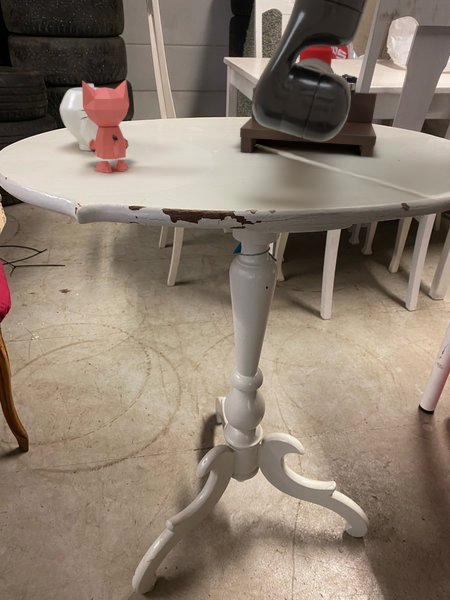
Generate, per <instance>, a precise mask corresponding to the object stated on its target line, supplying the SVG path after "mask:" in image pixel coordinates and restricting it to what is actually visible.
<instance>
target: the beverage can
mask: <svg viewBox="0 0 450 600" xmlns="http://www.w3.org/2000/svg"><path fill="white" fill-rule="evenodd" d="M333 53H334V52H333V47H330V46H314V47H310V48H307V49H305V50H304V51H303V52H302V53H301V54H300V55H299V57H298V58H299V59H298V62H299V61H301V60H303V59H307V58H318V59H321V60H323V61H325V62H326V63H328V64H329V65H330V67H331V68H332V61H333Z"/></svg>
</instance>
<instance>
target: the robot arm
mask: <svg viewBox="0 0 450 600" xmlns="http://www.w3.org/2000/svg"><path fill="white" fill-rule="evenodd" d="M368 2H369V0H294V3H293V7H292V10H291V14H290V16H289V19H288V21H287V24H286V27H285V29H284V31H283V34H282V35H281V37H280V39H279V42H278V44H277V46H276V48H275V50H274V51H273V54H272V55H271V57H270V59H269V61H268V62H267V64H266V65H265V66H264V67H265V68H263V71H262V72H261V74H260V76H259V78H258V81H257V83H256V85H255V87H254V88H255V89H254V92H253V91H252V98H251V110H252V109H253V114H254V116H255V119H256V120H257V122H258V123H259V124H260V125H262V126H264V127H267V128H270V129H273V130H277V131H281V132H284V133H288V134H291V135H294V136H298V137H302V136H303V138H304V139H308V140H311V141H317V142H316V143H322V141H327V140H329V139H331V138H333V137H334V136H335V135H336V134H337V133H338V132H339V131H340V130H341V129H342V127H343V125H344V124H345V121H346V119H347V117H348V114H349V110H350V104H351V96H353V95H355V92H357V84H358V77H357V76H355V75H349V74H347V73H344V74H342V75H339V74H337V73H335V71H334V70H333V68H332V66H331V67H330V65H329V64H328V63H326V62H325V61H323V60H321V59H318V58H307V59H303V60H301V61H299V60H298V58H299V57H300V54H301V53H302V52H303V51H304V50H305V49H307V48H310V47H314V46H330V47H332V48H336V47H337V48H340V47H347V46H349V45H350V44H352V43H353V41H354V40H355V39H356V36H357V34H358V32H359V29H360V26H361V23H362V21H363V20H362V19H363V17H364V15H363V14H365V11H366V8H367V5H368ZM297 60H298V62H297Z"/></svg>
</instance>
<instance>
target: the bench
mask: <svg viewBox="0 0 450 600" xmlns="http://www.w3.org/2000/svg"><path fill="white" fill-rule="evenodd" d="M254 89H255V87H253V88H252V93H253V92H254ZM377 95H378V92H362V91H356V92H355V95H353V96H351V104H350V110H349V114H348V117H347V119H346V121H345V124H344V125H343V127H342V129H341V130H340V131H339V132H338V133H337V134H336V135H335V136H334V137H333V138H331V139H329V140H327V141H322V142H321V143H322V144H323V143H325V144H336V145H337V144H340V145H352V146H353V145H355V146H358V148H359V154H360V156H361V157H371V158H372V157H373V155H374V148H375V146H376V142H377V133H376V131H375V129H374V126H373V120H374V113H375V108H376V101H377ZM239 137H240V153H249V154H251V153H252V152H253V151H254V149H255V148H256V146H257V145H258V143H257V142H258V140H259V139H260V140H275V141H291V142H307V143H318V142H317V141H311V140H308V139H304V138H303V136H302V137H298V136H294V135H291V134H288V133H284V132H281V131H277V130H273V129H270V128H267V127H264V126H262V125H260V124H259V123H258V122H257V120H256V119H255V116H254V114H253V109H252V108H251V117H250V118H249V119H248V120H247V121H246V122H245V123H244V124H243V125H242V126H241V127H240V128H239Z"/></svg>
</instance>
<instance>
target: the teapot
mask: <svg viewBox="0 0 450 600" xmlns="http://www.w3.org/2000/svg"><path fill="white" fill-rule="evenodd" d="M87 84H88V85H89V86H90V87H92V88H93V89H94V90H96V89H98V88H99V87H96V86H95V84H94V83H87ZM81 110H84V109H83V93H82V86H80V87H72V88H69V89H68V90H67V91H66V92H65V93H64V95H63V98H62V100H61V103H60V104H59V114H60V118H61V121H62V124H63V125H64V126H65V128H66V129H67V131H68V132H69V133H70V134H71V135H72V137H74V138H75V139H76V141H77V142H78V147H79V149H80V150H81V151H86V152H93V151H92V150H90V149H89V142H90V141H91V140H92V139H94V141H95V139H96V134H97V130H98V127H99V126H97V125H96V124H95V123H94V122H93V121H92V120H90V119H89V118H88V117H87V114H86V112H85V111H81ZM84 117H87V118H84ZM82 118H84V119H82ZM80 119H81V120H80Z"/></svg>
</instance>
